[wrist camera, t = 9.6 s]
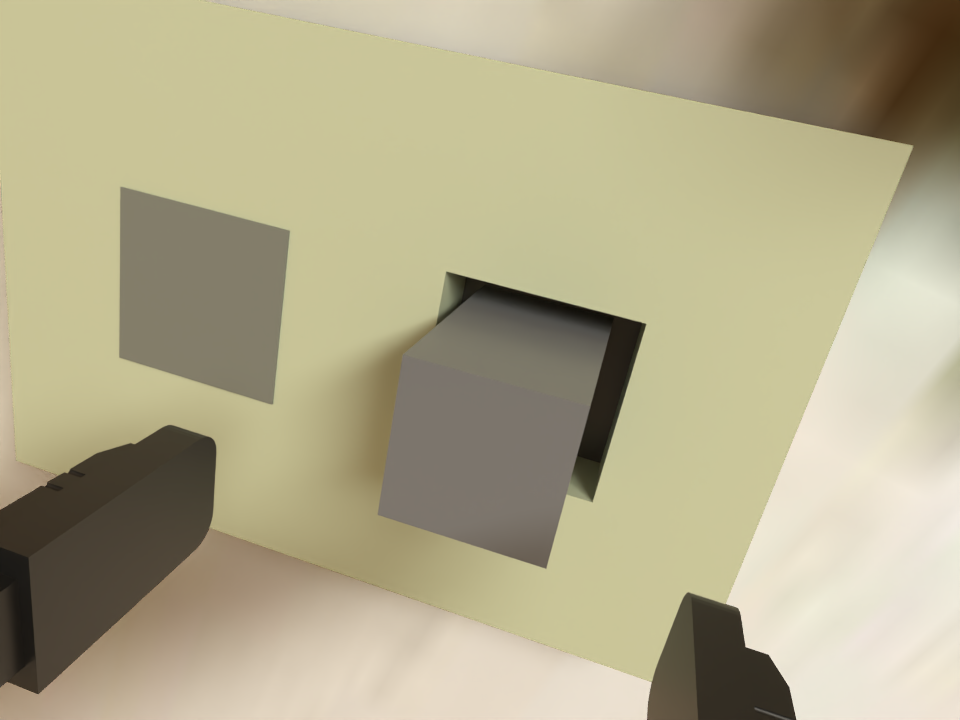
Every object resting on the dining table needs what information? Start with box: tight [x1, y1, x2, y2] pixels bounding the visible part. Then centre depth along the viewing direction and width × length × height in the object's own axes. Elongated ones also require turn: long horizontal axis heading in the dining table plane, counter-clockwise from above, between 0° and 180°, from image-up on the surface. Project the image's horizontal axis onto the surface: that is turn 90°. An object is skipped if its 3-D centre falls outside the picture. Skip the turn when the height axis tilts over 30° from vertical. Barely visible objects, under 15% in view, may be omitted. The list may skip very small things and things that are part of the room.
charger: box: [378, 285, 614, 569], centre depth 18 cm, size 4×4×7 cm
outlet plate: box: [0, 0, 913, 682], centre depth 21 cm, size 16×24×3 cm, turn 79°
